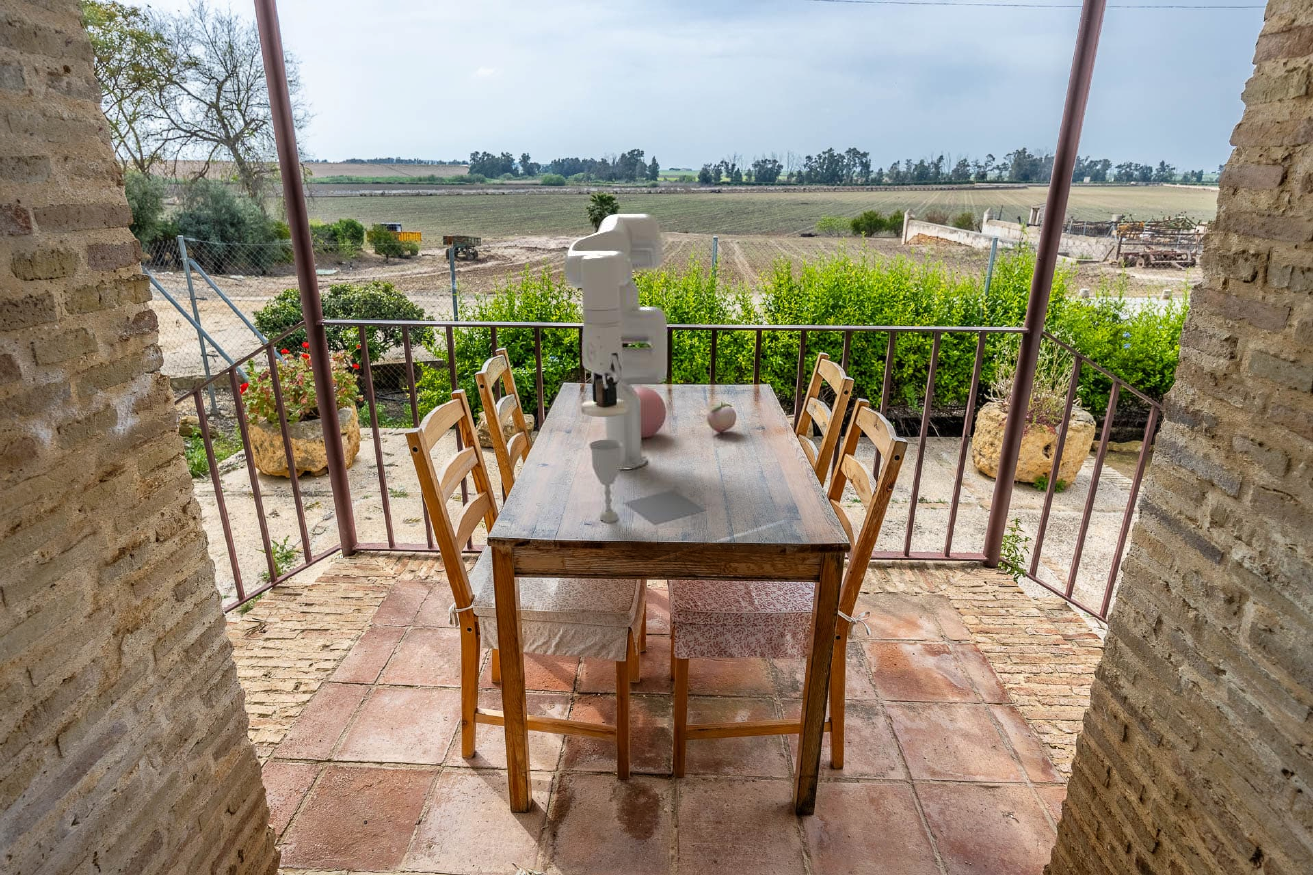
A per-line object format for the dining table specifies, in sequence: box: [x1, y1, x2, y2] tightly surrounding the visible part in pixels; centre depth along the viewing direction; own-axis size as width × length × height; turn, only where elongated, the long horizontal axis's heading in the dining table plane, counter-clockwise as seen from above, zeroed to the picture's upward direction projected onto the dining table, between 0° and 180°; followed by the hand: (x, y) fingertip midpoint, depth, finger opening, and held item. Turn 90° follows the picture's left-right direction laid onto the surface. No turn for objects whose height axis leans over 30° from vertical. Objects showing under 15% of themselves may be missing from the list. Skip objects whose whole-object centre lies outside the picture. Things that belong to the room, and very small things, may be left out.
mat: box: [623, 489, 707, 526], centre depth 162 cm, size 14×14×1 cm
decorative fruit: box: [706, 401, 737, 434], centre depth 212 cm, size 9×8×10 cm
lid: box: [581, 379, 629, 418], centre depth 148 cm, size 10×10×6 cm
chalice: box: [588, 439, 623, 523], centre depth 154 cm, size 7×7×18 cm
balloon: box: [633, 386, 667, 439], centre depth 212 cm, size 15×20×15 cm
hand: (604, 402), depth 149 cm, fingers closed on lid, 3 cm apart
